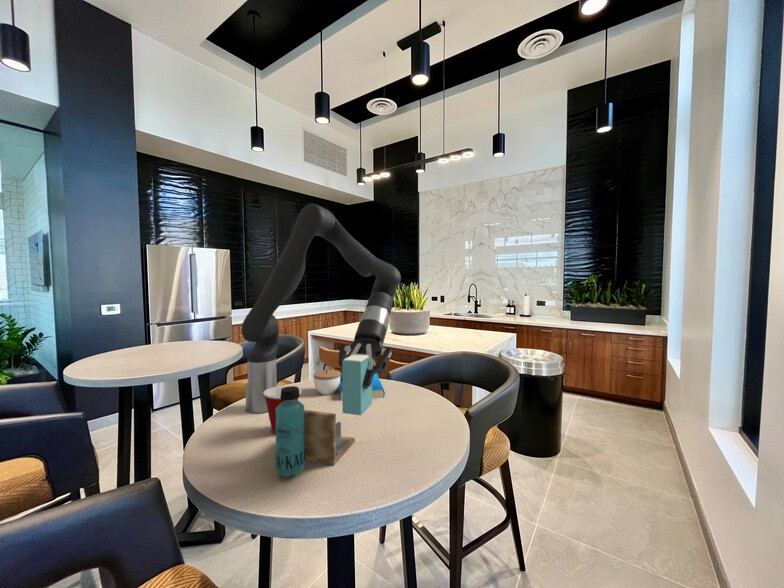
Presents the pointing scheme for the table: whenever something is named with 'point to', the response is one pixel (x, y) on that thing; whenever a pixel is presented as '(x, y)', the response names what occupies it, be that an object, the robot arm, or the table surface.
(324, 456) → the shelf
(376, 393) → the book
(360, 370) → the teal book
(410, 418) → the table surface
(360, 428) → the table surface
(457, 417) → the table surface
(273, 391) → the plastic cup
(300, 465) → the beverage bottle
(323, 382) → the lidded jar
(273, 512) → the table surface
